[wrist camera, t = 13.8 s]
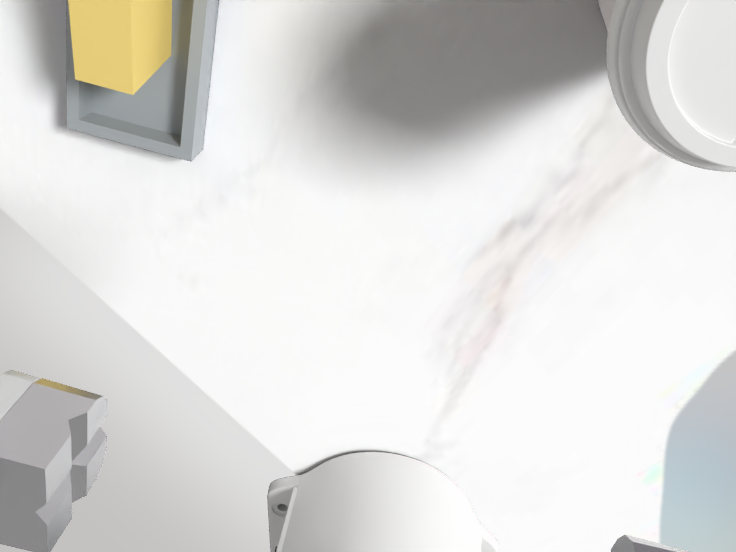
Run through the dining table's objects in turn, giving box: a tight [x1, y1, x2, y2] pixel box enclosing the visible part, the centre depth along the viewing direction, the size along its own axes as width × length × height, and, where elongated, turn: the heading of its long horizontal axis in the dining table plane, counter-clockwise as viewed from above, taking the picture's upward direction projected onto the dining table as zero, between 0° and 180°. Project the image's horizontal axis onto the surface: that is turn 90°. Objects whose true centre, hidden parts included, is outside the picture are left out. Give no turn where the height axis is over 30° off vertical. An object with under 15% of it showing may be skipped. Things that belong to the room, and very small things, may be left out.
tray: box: [67, 0, 219, 162], centre depth 37 cm, size 14×7×2 cm, turn 167°
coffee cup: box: [598, 0, 736, 172], centre depth 27 cm, size 10×10×15 cm
